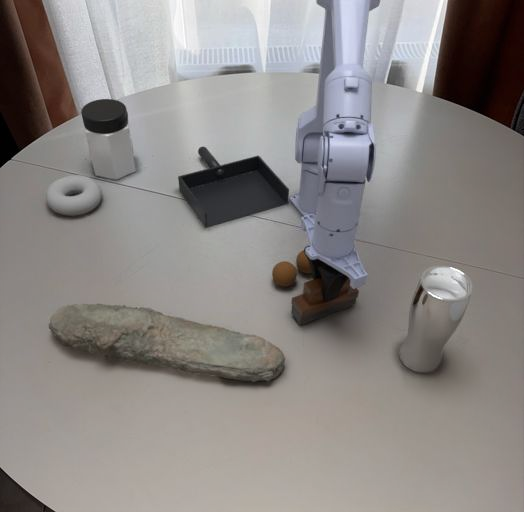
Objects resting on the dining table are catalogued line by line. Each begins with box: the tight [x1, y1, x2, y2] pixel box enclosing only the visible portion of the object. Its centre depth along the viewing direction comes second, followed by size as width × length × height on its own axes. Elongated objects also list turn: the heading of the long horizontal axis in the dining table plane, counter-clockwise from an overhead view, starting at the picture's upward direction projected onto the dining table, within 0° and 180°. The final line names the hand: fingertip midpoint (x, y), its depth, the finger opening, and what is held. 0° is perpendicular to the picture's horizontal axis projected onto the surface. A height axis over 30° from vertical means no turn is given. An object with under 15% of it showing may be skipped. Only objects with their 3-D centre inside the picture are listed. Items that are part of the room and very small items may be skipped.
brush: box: [290, 277, 360, 325], centre depth 88 cm, size 10×3×6 cm, turn 117°
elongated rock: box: [48, 303, 286, 383], centre depth 83 cm, size 35×5×10 cm
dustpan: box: [177, 146, 290, 229], centre depth 111 cm, size 21×17×3 cm
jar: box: [80, 98, 137, 181], centre depth 110 cm, size 9×8×12 cm
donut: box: [45, 174, 103, 217], centre depth 106 cm, size 10×4×10 cm
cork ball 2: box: [295, 249, 312, 274], centre depth 95 cm, size 4×4×4 cm
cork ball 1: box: [271, 260, 298, 287], centre depth 93 cm, size 4×4×4 cm
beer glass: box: [398, 264, 474, 374], centre depth 79 cm, size 7×7×15 cm
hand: (325, 291), depth 87 cm, fingers closed on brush, 2 cm apart
